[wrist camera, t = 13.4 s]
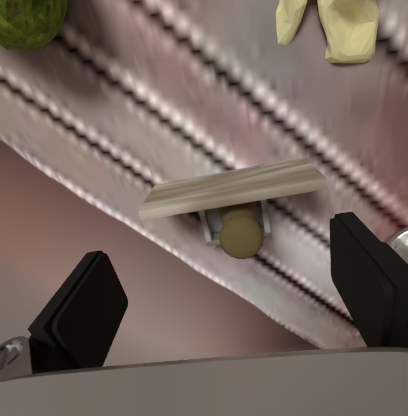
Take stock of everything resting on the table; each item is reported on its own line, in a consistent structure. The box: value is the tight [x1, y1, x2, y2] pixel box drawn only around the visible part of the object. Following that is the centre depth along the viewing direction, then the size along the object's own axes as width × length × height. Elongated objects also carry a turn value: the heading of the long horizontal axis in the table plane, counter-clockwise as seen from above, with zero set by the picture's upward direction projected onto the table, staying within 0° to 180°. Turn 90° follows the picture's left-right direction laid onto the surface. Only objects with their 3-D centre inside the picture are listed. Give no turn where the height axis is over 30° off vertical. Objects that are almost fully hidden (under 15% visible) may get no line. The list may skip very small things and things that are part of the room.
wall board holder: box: [138, 157, 327, 246], centre depth 37 cm, size 10×22×9 cm, turn 103°
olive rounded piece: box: [218, 201, 264, 259], centre depth 35 cm, size 6×6×11 cm
